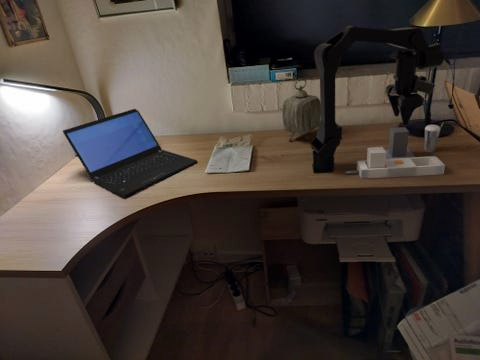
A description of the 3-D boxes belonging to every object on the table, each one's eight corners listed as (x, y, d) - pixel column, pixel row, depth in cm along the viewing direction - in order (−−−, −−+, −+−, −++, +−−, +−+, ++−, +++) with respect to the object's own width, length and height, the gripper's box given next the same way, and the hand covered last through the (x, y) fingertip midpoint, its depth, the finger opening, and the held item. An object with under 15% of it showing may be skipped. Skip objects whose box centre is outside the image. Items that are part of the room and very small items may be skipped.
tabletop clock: (305, 131, 148) (303, 74, 136) (322, 135, 141) (321, 75, 130) (284, 142, 140) (280, 82, 128) (301, 146, 133) (298, 83, 122)
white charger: (369, 176, 105) (370, 153, 101) (366, 170, 109) (367, 147, 105) (384, 175, 104) (386, 152, 101) (380, 169, 108) (382, 146, 104)
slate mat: (385, 162, 112) (385, 161, 112) (378, 151, 121) (378, 149, 120) (417, 160, 110) (417, 159, 110) (407, 149, 119) (407, 148, 119)
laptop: (124, 200, 111) (107, 147, 102) (78, 175, 135) (61, 130, 126) (199, 163, 131) (189, 116, 123) (147, 147, 156) (136, 107, 147)
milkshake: (441, 152, 114) (445, 124, 109) (424, 153, 115) (428, 125, 110) (437, 147, 117) (441, 120, 113) (420, 148, 119) (424, 121, 114)
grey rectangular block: (391, 157, 114) (394, 132, 109) (388, 152, 117) (390, 128, 113) (406, 156, 113) (408, 131, 109) (401, 151, 117) (404, 127, 113)
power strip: (347, 179, 105) (348, 169, 103) (344, 169, 111) (344, 159, 109) (443, 174, 100) (445, 163, 99) (434, 164, 106) (436, 154, 105)
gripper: (446, 74, 93) (438, 127, 100) (422, 64, 109) (416, 110, 116) (404, 78, 95) (399, 130, 102) (386, 67, 111) (383, 113, 118)
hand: (400, 120), depth 110 cm, fingers open, 9 cm apart
